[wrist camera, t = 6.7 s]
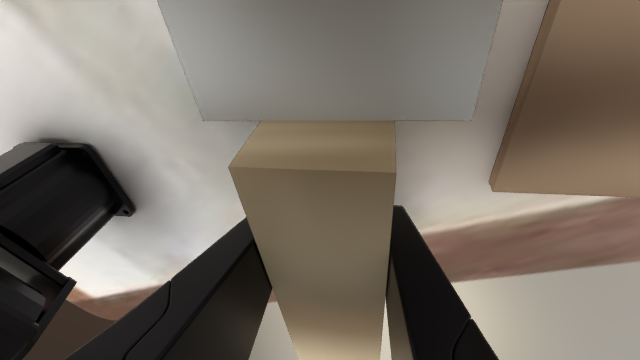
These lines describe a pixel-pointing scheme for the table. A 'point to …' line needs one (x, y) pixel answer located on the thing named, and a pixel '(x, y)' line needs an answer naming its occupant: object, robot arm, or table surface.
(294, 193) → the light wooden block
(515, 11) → the table surface
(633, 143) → the board
